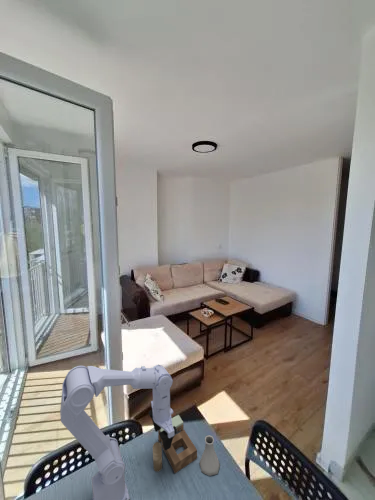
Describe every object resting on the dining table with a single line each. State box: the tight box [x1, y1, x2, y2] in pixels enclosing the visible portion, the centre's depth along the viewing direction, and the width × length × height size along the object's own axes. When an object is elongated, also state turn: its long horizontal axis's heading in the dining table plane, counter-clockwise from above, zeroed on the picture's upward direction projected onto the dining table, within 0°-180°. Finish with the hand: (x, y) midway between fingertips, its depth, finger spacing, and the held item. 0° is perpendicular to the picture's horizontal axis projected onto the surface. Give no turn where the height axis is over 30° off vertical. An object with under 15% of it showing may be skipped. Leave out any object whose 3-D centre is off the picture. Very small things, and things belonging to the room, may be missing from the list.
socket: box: [162, 429, 198, 474], centre depth 80 cm, size 9×9×4 cm
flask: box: [198, 434, 221, 477], centre depth 76 cm, size 7×7×10 cm
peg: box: [152, 441, 163, 473], centre depth 76 cm, size 3×3×8 cm
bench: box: [157, 414, 185, 449], centre depth 86 cm, size 9×4×6 cm, turn 121°
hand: (162, 438), depth 77 cm, fingers open, 7 cm apart
